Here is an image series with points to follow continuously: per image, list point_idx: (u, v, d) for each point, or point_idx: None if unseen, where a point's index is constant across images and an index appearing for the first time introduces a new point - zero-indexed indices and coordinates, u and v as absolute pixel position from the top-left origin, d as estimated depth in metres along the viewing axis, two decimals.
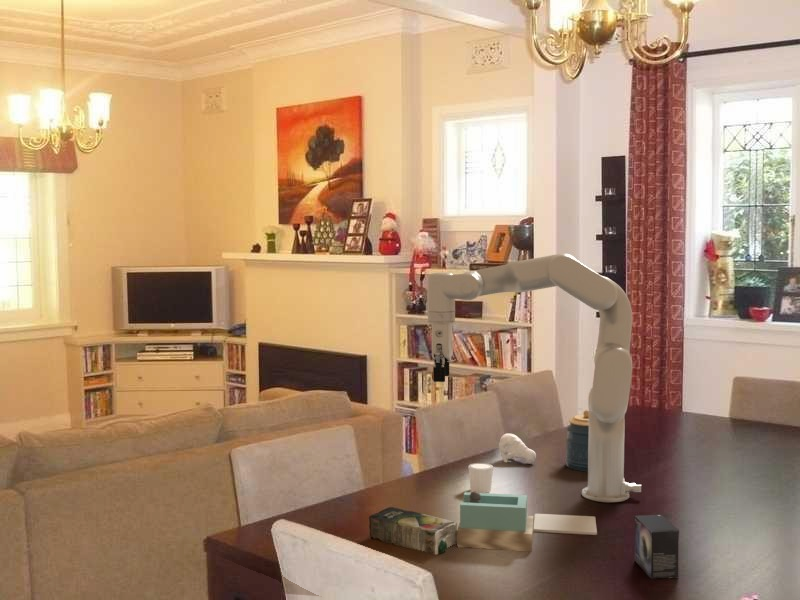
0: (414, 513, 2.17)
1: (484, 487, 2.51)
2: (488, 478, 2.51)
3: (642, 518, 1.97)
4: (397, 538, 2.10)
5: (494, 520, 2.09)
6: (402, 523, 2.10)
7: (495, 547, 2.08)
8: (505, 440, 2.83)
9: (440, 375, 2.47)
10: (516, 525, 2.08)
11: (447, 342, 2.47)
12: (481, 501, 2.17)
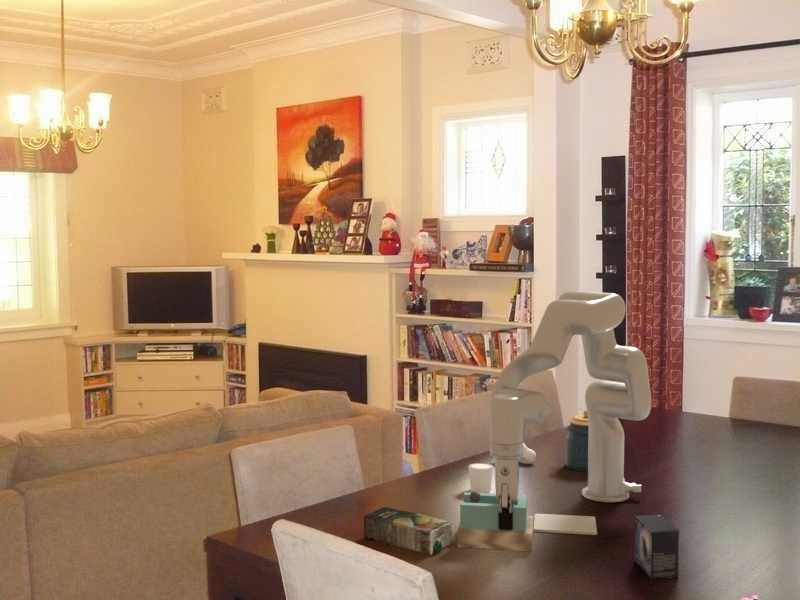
0: (409, 513, 2.17)
1: (484, 487, 2.51)
2: (488, 478, 2.51)
3: (642, 518, 1.97)
4: (392, 538, 2.10)
5: (494, 520, 2.09)
6: (397, 523, 2.10)
7: (495, 547, 2.08)
8: None
9: (507, 522, 2.07)
10: (516, 525, 2.08)
11: (515, 482, 2.03)
12: (481, 501, 2.17)
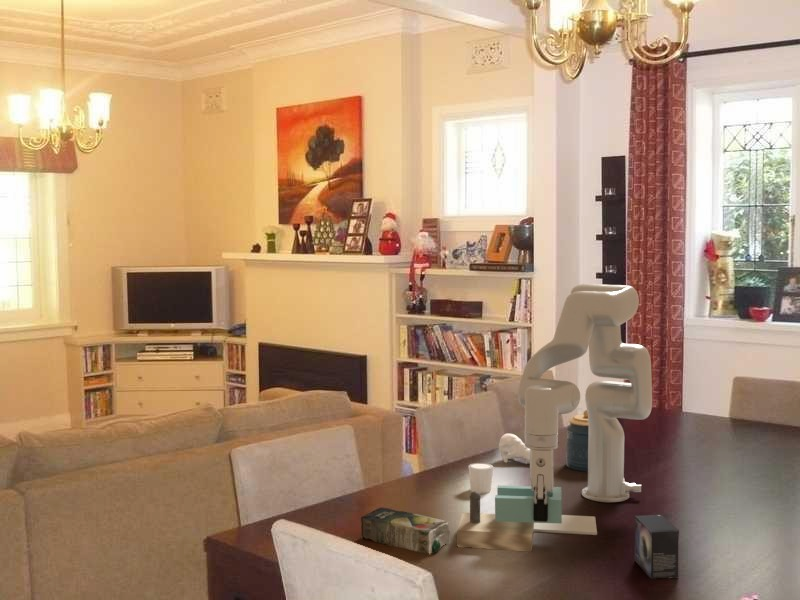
0: (406, 513, 2.17)
1: (484, 487, 2.51)
2: (488, 478, 2.51)
3: (642, 518, 1.97)
4: (390, 539, 2.10)
5: (530, 513, 2.07)
6: (395, 523, 2.10)
7: (495, 547, 2.08)
8: (505, 440, 2.83)
9: (542, 514, 2.05)
10: (552, 517, 2.07)
11: (550, 473, 2.02)
12: (515, 494, 2.16)
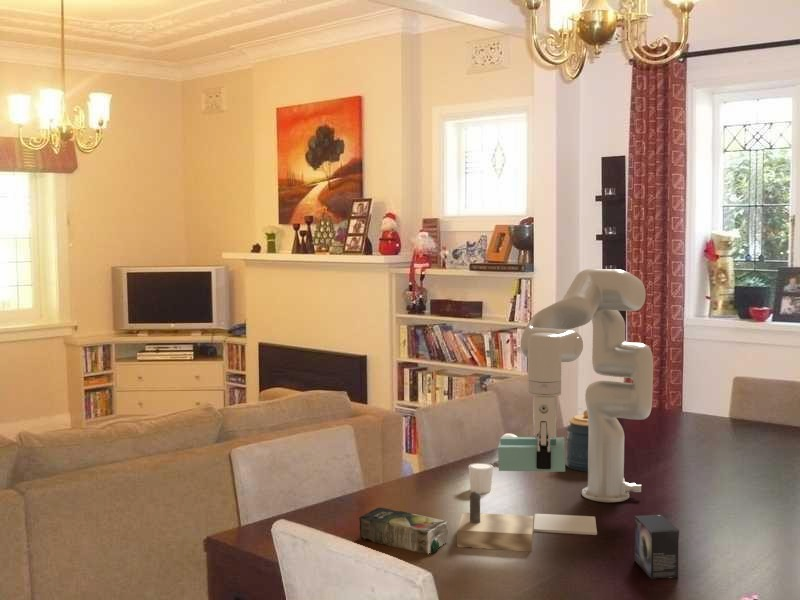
0: (404, 513, 2.17)
1: (484, 487, 2.51)
2: (488, 478, 2.51)
3: (642, 518, 1.97)
4: (389, 539, 2.10)
5: (533, 461, 2.07)
6: (393, 523, 2.10)
7: (495, 547, 2.08)
8: None
9: (545, 461, 2.05)
10: (555, 465, 2.06)
11: (554, 419, 2.01)
12: (518, 445, 2.15)
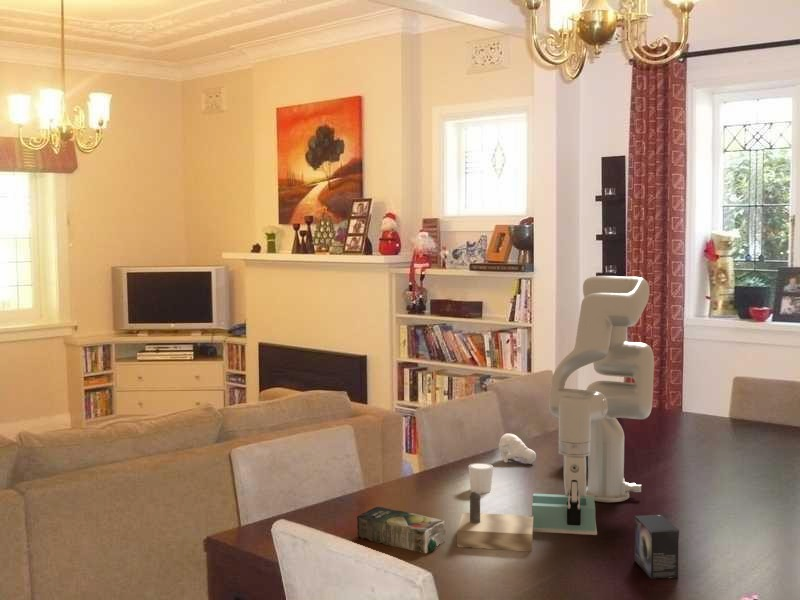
0: (402, 512, 2.18)
1: (484, 487, 2.51)
2: (488, 478, 2.51)
3: (642, 518, 1.97)
4: (386, 538, 2.11)
5: (565, 520, 2.19)
6: (391, 522, 2.10)
7: (495, 547, 2.08)
8: (505, 440, 2.83)
9: (575, 518, 2.16)
10: (586, 525, 2.18)
11: (584, 478, 2.14)
12: (550, 502, 2.27)
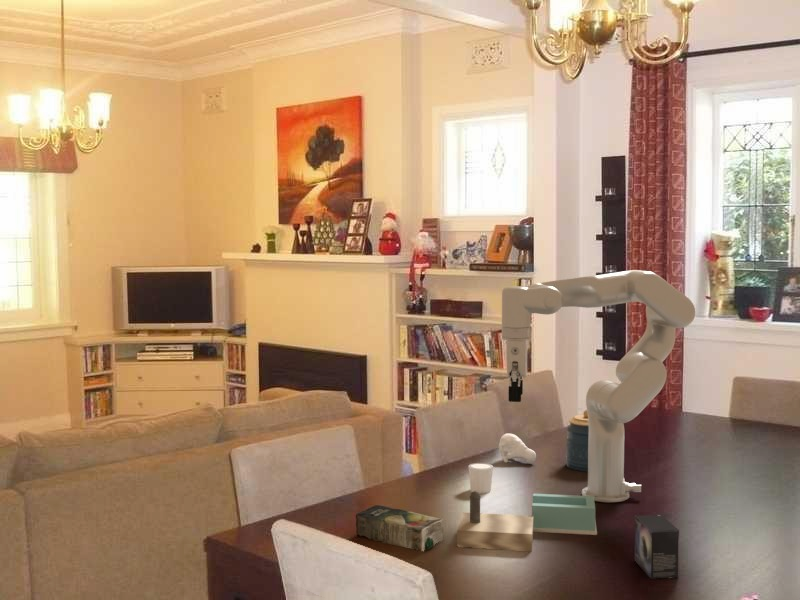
0: (400, 511, 2.19)
1: (484, 487, 2.51)
2: (488, 478, 2.51)
3: (642, 518, 1.97)
4: (384, 536, 2.12)
5: (565, 520, 2.19)
6: (389, 521, 2.12)
7: (495, 547, 2.08)
8: (505, 440, 2.83)
9: (516, 395, 2.34)
10: (586, 525, 2.18)
11: (523, 360, 2.34)
12: (550, 502, 2.27)
